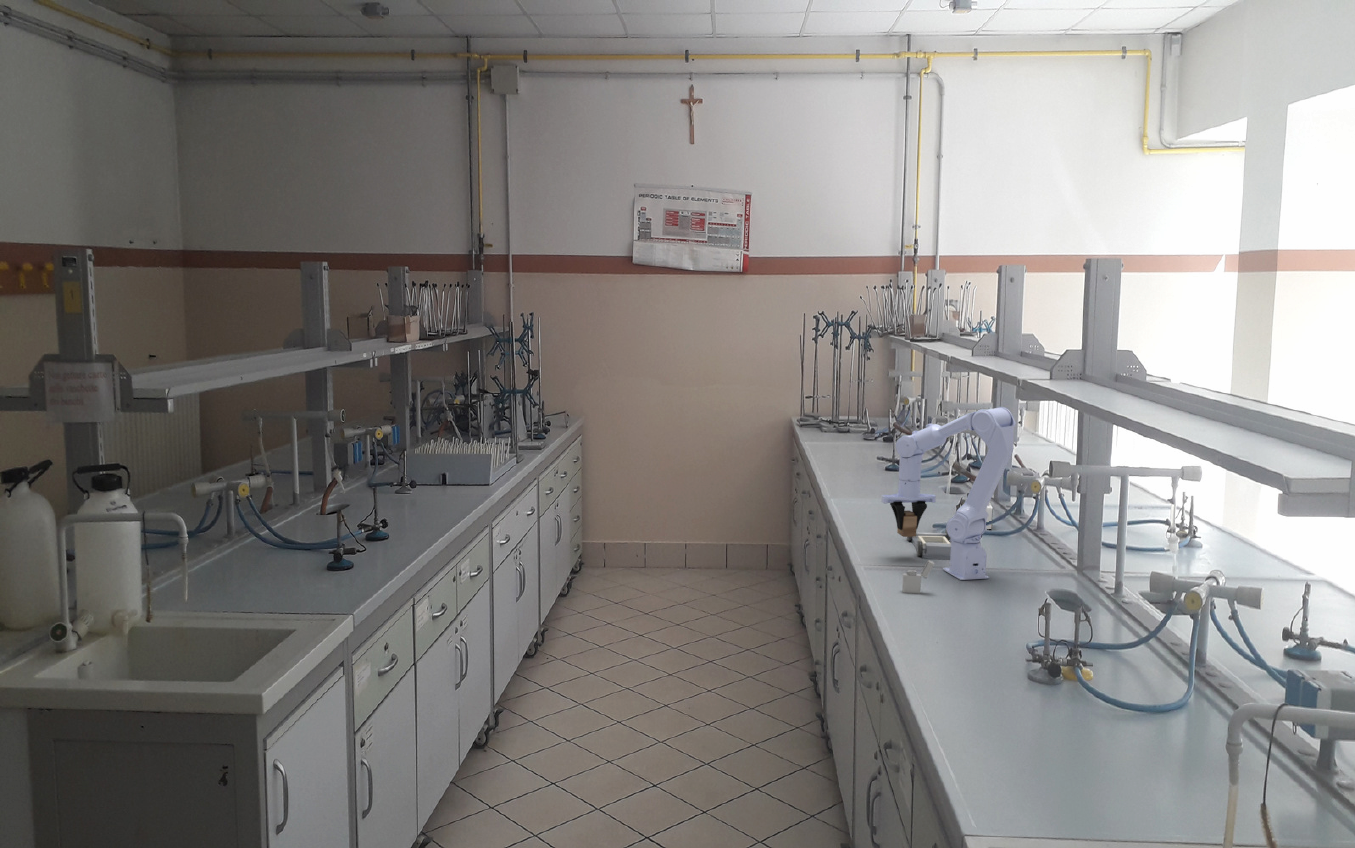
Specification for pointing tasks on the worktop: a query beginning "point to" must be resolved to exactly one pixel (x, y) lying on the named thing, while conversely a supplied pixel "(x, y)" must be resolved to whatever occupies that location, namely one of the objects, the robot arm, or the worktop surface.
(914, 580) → the lighter
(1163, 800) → the worktop surface
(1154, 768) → the worktop surface
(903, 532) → the brown wooden block
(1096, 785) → the worktop surface
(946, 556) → the chassis
